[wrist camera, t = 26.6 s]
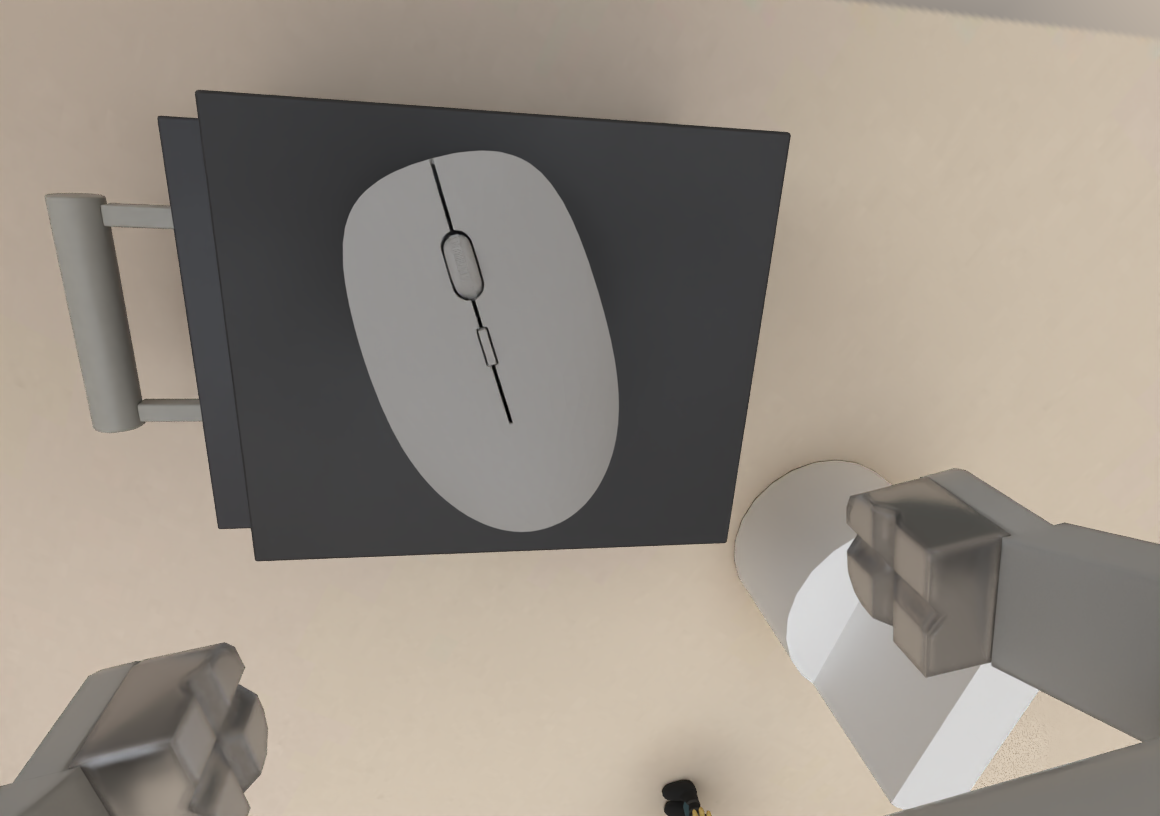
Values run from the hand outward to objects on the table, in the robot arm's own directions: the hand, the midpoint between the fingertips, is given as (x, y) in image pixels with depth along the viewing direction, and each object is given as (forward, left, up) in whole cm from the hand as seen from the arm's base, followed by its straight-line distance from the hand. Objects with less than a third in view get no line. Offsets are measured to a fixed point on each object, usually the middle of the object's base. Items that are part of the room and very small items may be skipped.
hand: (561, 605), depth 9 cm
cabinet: (0, 0, -21) cm, 21 cm away
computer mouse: (-1, 0, -11) cm, 11 cm away
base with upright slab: (+20, -6, -21) cm, 29 cm away
